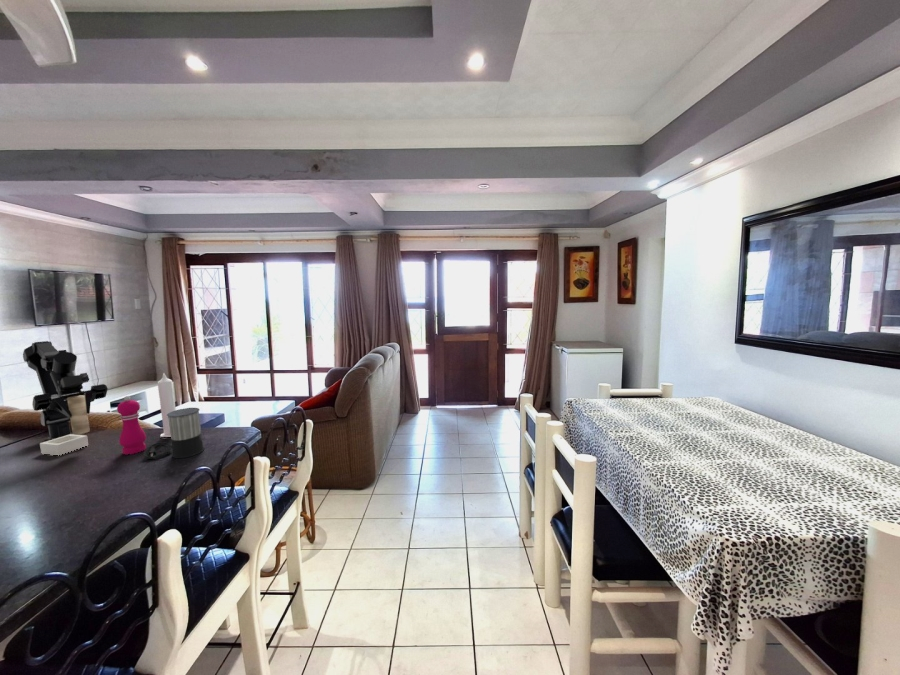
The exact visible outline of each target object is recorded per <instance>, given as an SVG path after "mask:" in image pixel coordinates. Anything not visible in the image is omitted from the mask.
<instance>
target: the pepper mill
mask: <svg viewBox="0 0 900 675" xmlns="http://www.w3.org/2000/svg"><path fill="white" fill-rule="evenodd" d="M123 400H124V401H121V402H120V403H119V404H118V405H117V409H116V410H117V413H118V414H119V415H120V420H121V421H122V430H121V433H120V436H119V445H120V446H122V447H123V448H122V454H123V455H124V454H125V455H127V456H128V454H130V455H135V454H138V452H139V453H141V451H142V452H143V450H144V451H145V450H146V449H147V446H146V443H145V442H146V440H147V435H146V432H145V431H144V429H143V428H142V427H141V425H140V422H139V417H140V412H139V410H140V408H141V406H140V403H139V402H138V401H137V400H134V399H133V400H132V399H131V396H129V395H127V396H124V397H123ZM134 453H135V454H134Z"/></svg>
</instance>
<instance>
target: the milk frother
mask: <svg viewBox="0 0 900 675" xmlns="http://www.w3.org/2000/svg"><path fill="white" fill-rule="evenodd" d="M199 411H200V408H199V407H186V408H185V407H184V408H180V409H176V410H175V411H172V412H170V413H168V414H167V416H168V419H169V426H170V434H171V438H170V441H171V444H170V443H168V442H166V441H164V442H163V441H162V442H161V441H159V442H157V443H154V444H151V445H150V446H148V447H146V449H145V450H144V452H143V457H144V458H146V459H148V460H150V459H151V460H153V459H159V458H162V457H164V456H166V455H167V454H169V453H170V452H172V454H171V457H173V458H174V459H182V458H188V457H189V458H190V457H193V456H196V455H198V454H200V453H202V452H203V451H204V450H205V447H204V443H203V436H202V427H201V418H200V412H199ZM159 447H164V448H166V449H165V450H164V451H162V452H161V453H158V454H157V451H156V448H159Z"/></svg>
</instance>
